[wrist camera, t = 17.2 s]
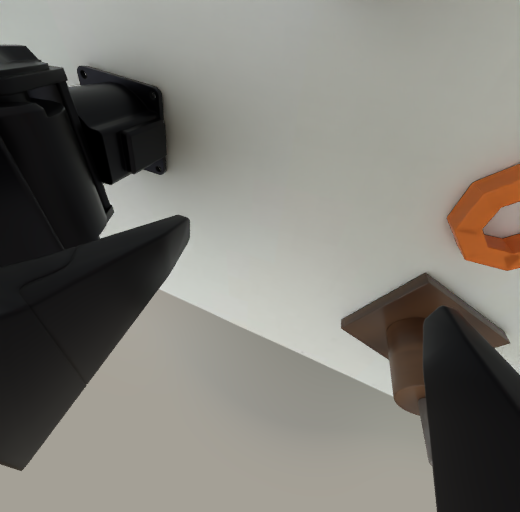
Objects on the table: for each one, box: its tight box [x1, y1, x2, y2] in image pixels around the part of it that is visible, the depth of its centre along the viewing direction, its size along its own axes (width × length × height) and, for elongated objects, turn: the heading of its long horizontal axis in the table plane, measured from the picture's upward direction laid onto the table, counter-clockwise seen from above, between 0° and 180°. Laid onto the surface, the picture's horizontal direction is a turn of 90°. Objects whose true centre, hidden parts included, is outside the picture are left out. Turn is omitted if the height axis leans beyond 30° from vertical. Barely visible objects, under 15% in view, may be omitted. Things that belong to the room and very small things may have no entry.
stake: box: [341, 273, 510, 465], centre depth 21 cm, size 10×10×12 cm
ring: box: [447, 164, 520, 271], centre depth 16 cm, size 7×7×2 cm
